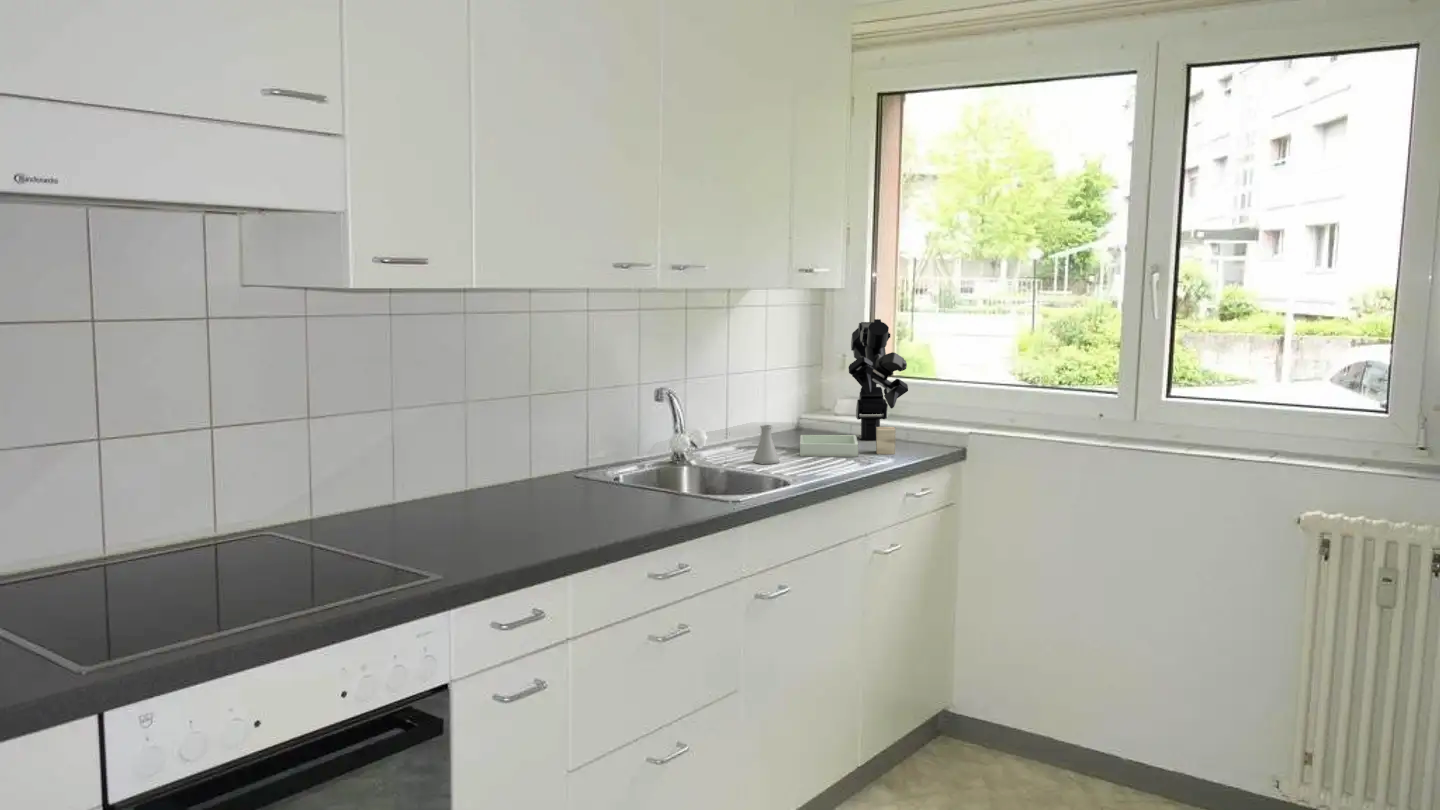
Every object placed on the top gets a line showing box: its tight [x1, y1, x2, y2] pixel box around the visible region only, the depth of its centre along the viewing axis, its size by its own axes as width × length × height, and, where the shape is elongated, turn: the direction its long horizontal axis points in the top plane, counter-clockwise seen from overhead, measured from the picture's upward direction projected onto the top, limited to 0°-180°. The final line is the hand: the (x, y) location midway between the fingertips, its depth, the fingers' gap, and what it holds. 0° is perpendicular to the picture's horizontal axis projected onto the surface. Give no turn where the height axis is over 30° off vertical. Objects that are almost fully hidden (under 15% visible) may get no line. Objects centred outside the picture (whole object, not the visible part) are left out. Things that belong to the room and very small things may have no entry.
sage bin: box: [799, 434, 859, 458], centre depth 319 cm, size 16×16×4 cm
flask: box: [752, 424, 781, 465], centre depth 303 cm, size 7×7×10 cm
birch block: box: [875, 426, 896, 455], centre depth 316 cm, size 5×5×7 cm
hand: (880, 400), depth 314 cm, fingers open, 9 cm apart
